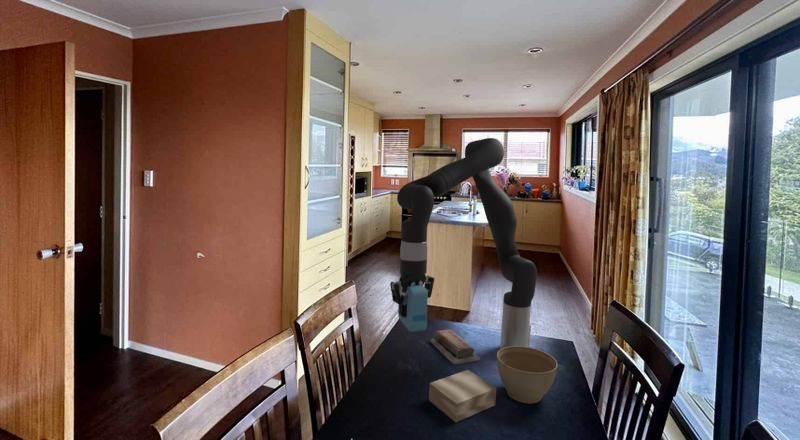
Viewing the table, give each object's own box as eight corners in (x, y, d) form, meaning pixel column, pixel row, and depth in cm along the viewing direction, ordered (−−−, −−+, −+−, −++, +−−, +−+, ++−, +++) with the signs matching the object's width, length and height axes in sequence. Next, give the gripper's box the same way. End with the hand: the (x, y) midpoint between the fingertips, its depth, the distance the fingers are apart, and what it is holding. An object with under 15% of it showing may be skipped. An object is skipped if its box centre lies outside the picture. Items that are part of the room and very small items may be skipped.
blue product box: (426, 332, 108) (428, 289, 107) (411, 334, 107) (412, 291, 105) (412, 316, 120) (413, 277, 118) (397, 317, 118) (398, 278, 117)
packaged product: (430, 330, 144) (454, 326, 147) (429, 342, 144) (453, 339, 148) (454, 352, 127) (481, 347, 131) (454, 366, 128) (480, 361, 131)
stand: (466, 385, 116) (467, 369, 115) (495, 405, 107) (496, 387, 106) (428, 400, 108) (429, 383, 107) (455, 422, 99) (456, 403, 98)
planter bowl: (563, 395, 112) (567, 359, 111) (537, 420, 101) (540, 380, 100) (512, 373, 124) (514, 340, 122) (483, 393, 112) (485, 357, 111)
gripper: (426, 251, 118) (424, 306, 120) (384, 256, 110) (383, 315, 112) (442, 256, 112) (439, 314, 114) (399, 262, 104) (397, 324, 106)
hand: (411, 314), depth 113 cm, fingers closed on blue product box, 5 cm apart
